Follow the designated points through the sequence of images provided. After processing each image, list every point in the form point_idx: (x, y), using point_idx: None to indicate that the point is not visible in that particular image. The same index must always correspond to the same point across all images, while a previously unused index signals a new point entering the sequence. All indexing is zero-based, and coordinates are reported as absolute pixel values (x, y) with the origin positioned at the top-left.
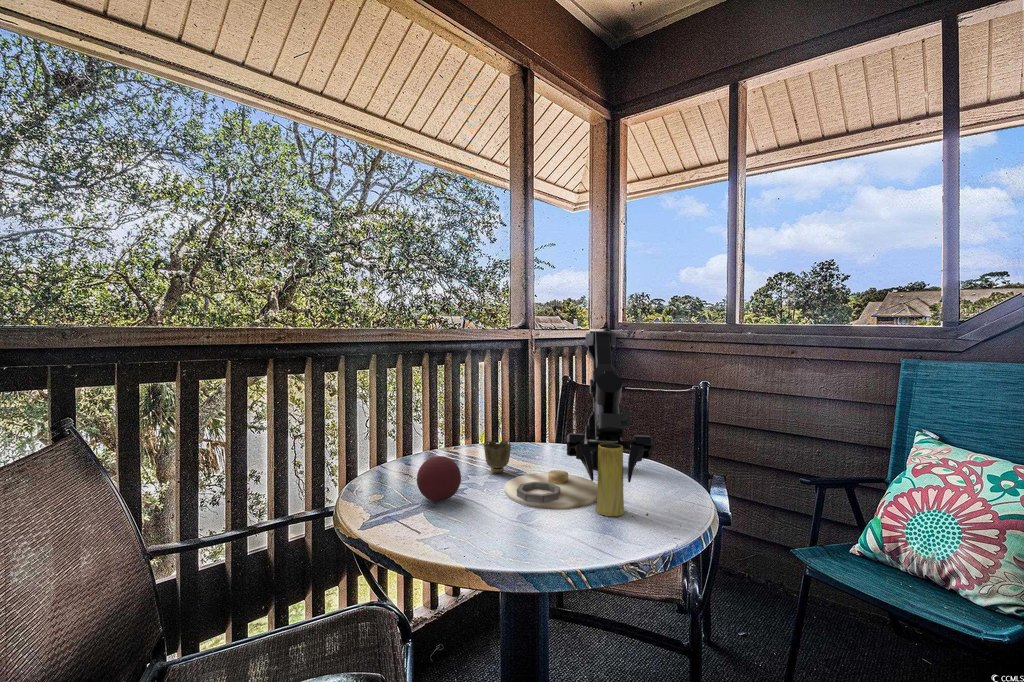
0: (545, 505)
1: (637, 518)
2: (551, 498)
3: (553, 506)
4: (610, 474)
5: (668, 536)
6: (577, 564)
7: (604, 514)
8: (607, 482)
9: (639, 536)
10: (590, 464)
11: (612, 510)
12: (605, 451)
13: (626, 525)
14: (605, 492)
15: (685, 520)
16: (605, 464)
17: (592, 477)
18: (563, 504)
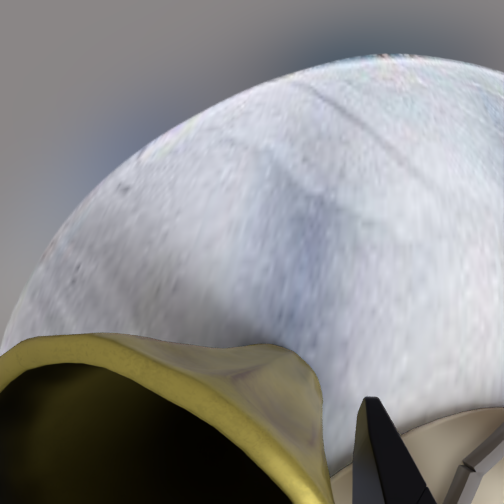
0: (501, 408)
1: (173, 332)
2: (488, 444)
3: (478, 410)
4: (239, 354)
5: (136, 197)
6: (389, 68)
7: (295, 353)
8: (270, 357)
9: (215, 188)
10: (396, 480)
11: (261, 345)
12: (247, 393)
13: (231, 268)
14: (287, 358)
15: (52, 308)
16: (272, 373)
17: (372, 399)
18: (448, 420)
